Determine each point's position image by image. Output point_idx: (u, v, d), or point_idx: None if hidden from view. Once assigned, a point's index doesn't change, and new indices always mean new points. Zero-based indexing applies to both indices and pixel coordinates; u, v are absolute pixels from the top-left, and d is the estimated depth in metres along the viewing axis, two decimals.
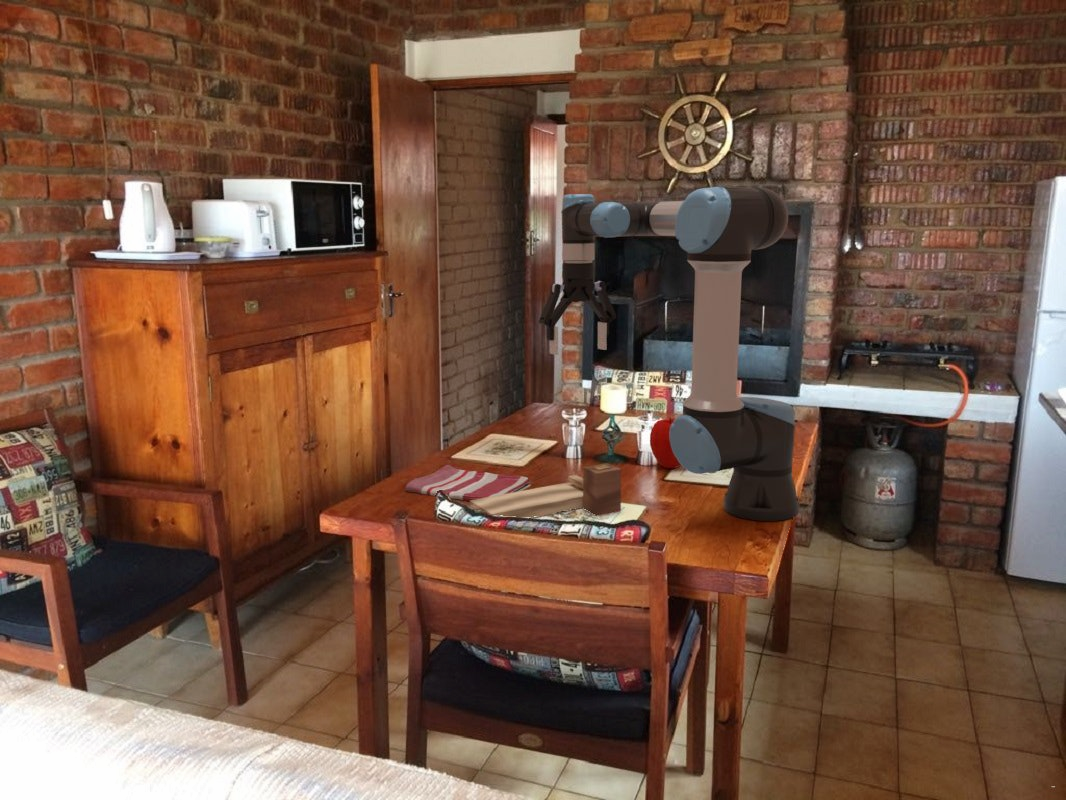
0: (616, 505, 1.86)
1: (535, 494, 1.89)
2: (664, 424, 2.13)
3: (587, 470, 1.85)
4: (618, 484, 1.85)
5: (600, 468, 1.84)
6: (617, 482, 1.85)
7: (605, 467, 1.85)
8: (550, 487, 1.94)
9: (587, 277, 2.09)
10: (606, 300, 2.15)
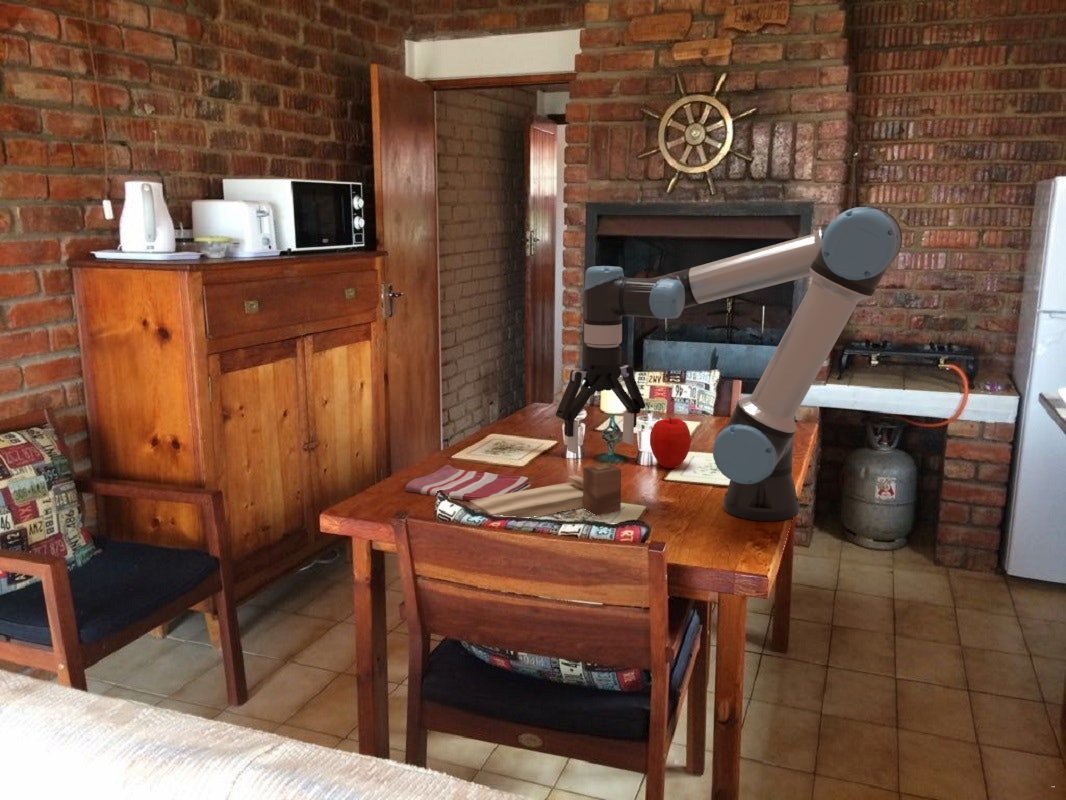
0: (616, 505, 1.86)
1: (535, 494, 1.89)
2: (664, 424, 2.13)
3: (587, 470, 1.85)
4: (618, 484, 1.85)
5: (600, 468, 1.84)
6: (617, 482, 1.85)
7: (605, 467, 1.85)
8: (550, 487, 1.94)
9: (613, 364, 1.78)
10: (634, 388, 1.84)
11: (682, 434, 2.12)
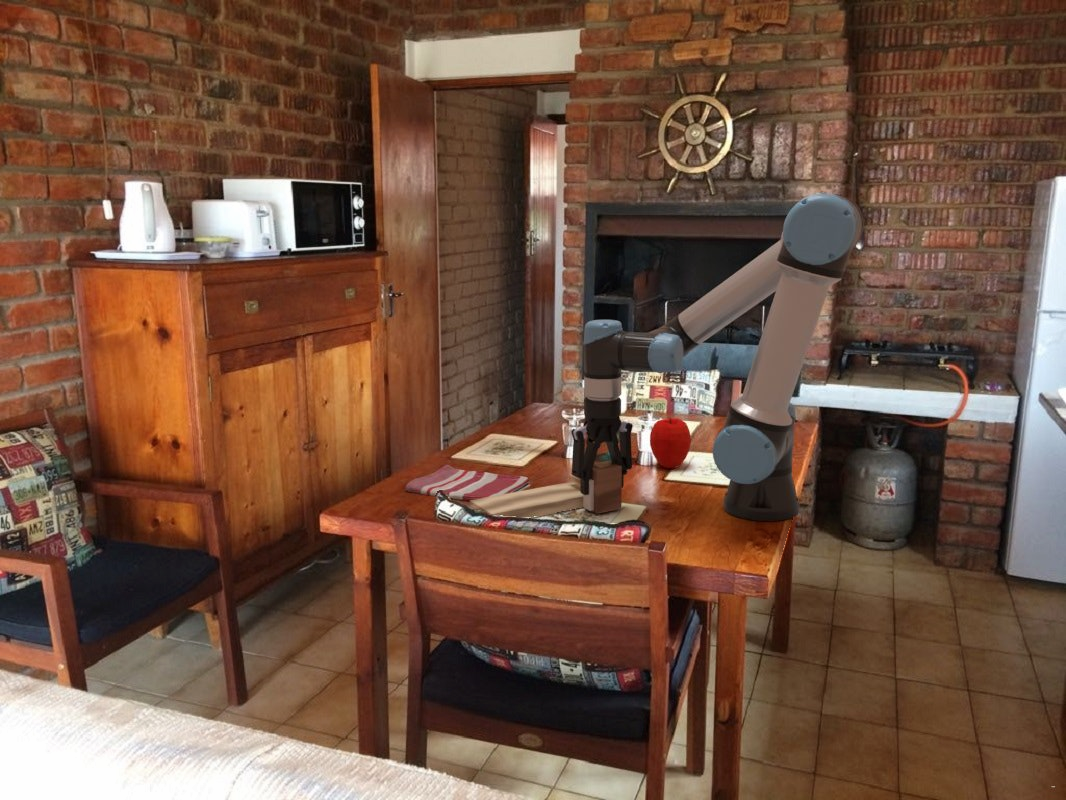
0: (617, 503, 1.85)
1: (535, 494, 1.89)
2: (664, 424, 2.13)
3: None
4: (619, 481, 1.85)
5: (601, 466, 1.84)
6: (618, 480, 1.84)
7: (606, 465, 1.85)
8: (550, 487, 1.94)
9: (613, 416, 1.80)
10: (627, 445, 1.86)
11: (682, 434, 2.12)
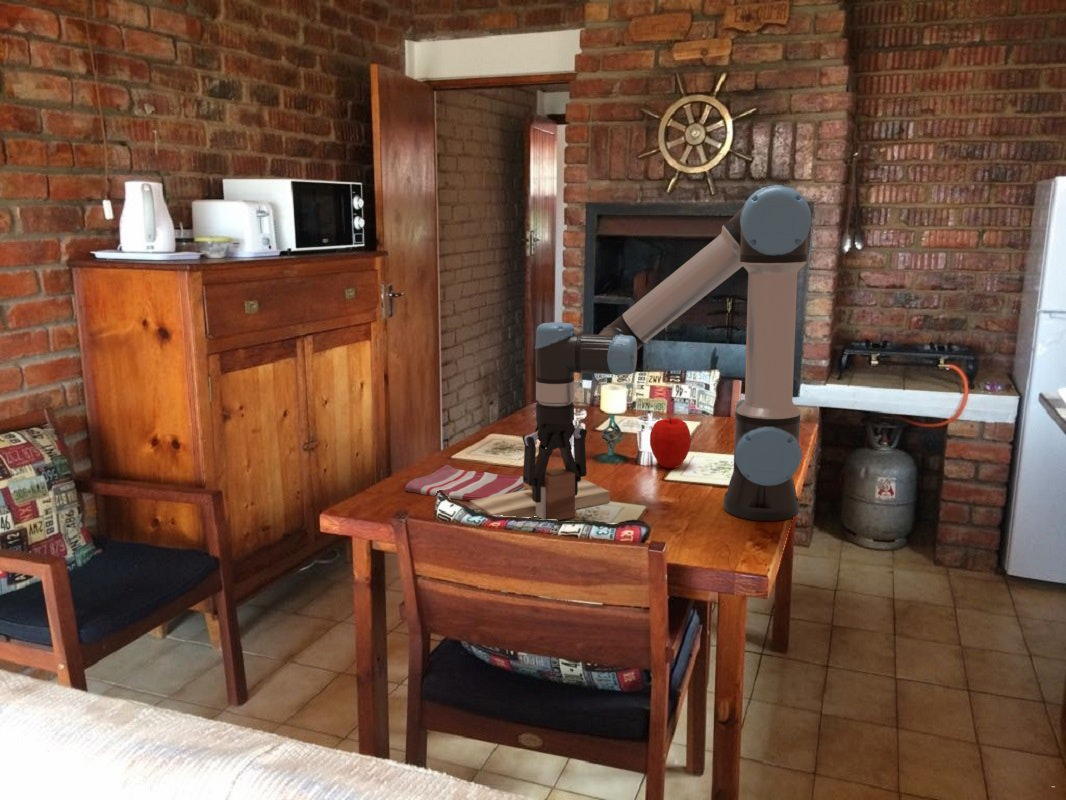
0: (570, 511, 1.80)
1: None
2: (664, 424, 2.13)
3: None
4: (572, 489, 1.79)
5: (553, 473, 1.79)
6: (571, 487, 1.79)
7: (558, 472, 1.79)
8: None
9: (565, 422, 1.74)
10: (581, 452, 1.81)
11: (682, 434, 2.12)
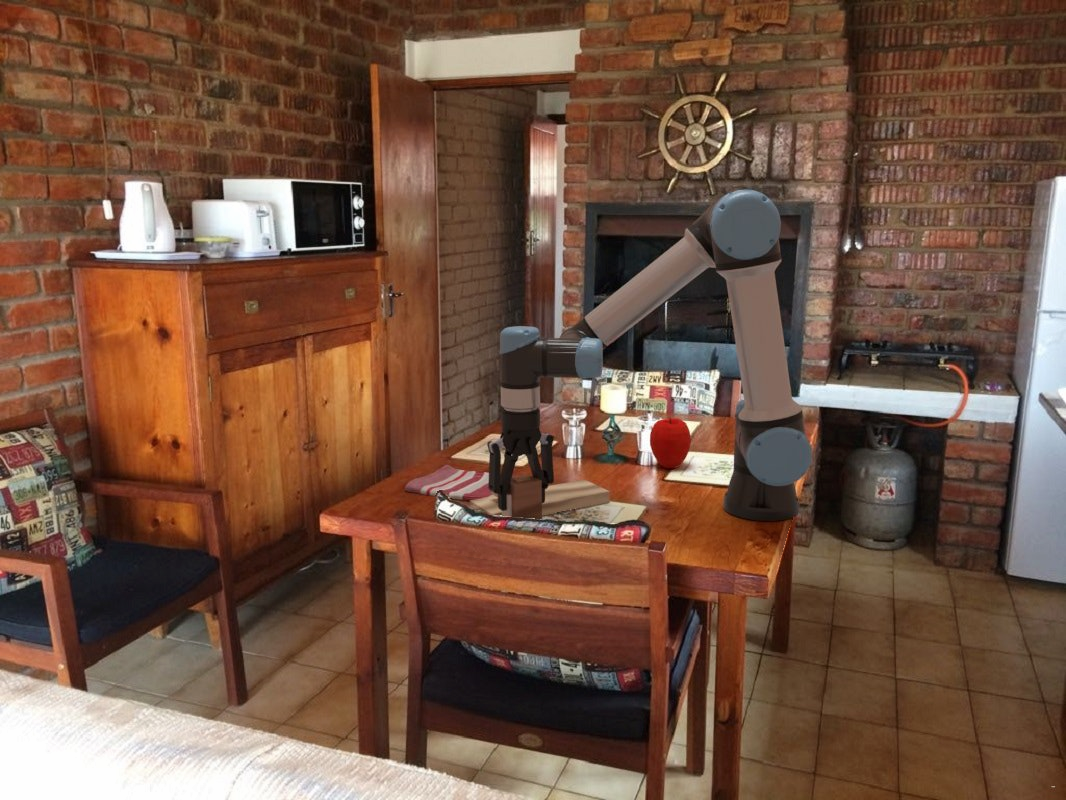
0: None
1: None
2: (664, 424, 2.13)
3: None
4: (539, 496, 1.75)
5: (519, 480, 1.75)
6: (537, 494, 1.75)
7: (525, 479, 1.76)
8: (550, 487, 1.94)
9: (530, 428, 1.71)
10: (548, 458, 1.77)
11: (682, 434, 2.12)
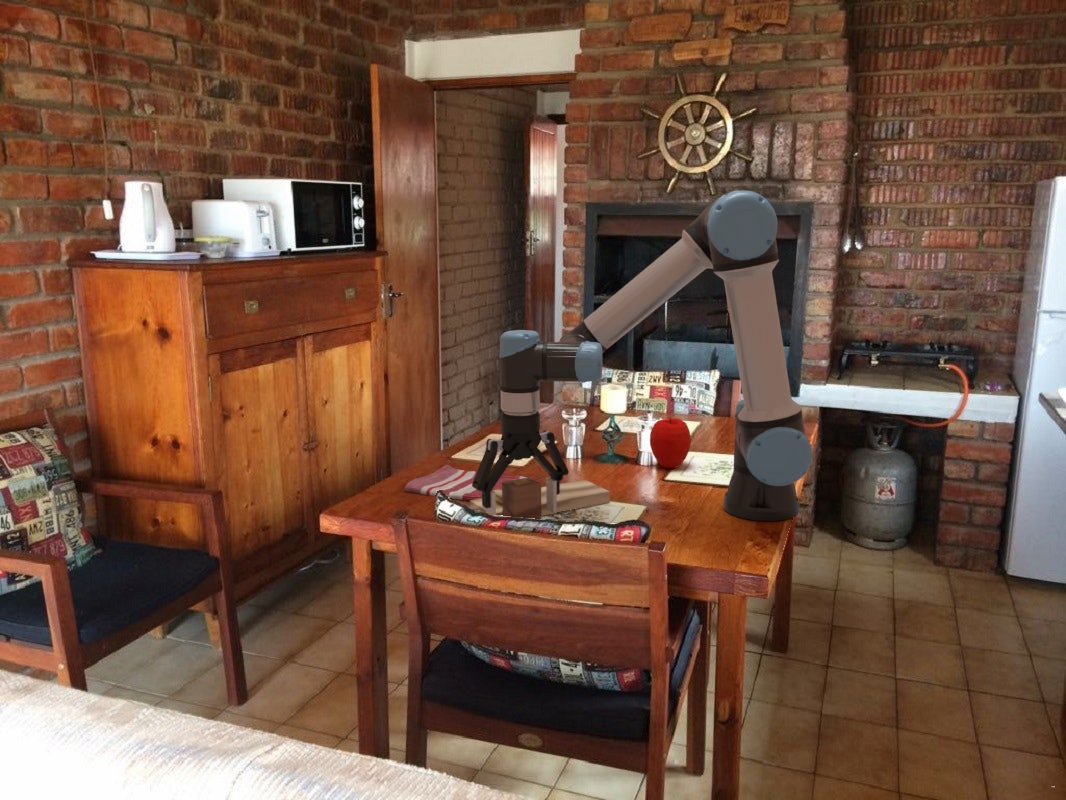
0: None
1: None
2: (664, 424, 2.13)
3: (505, 485, 1.75)
4: (538, 499, 1.76)
5: (519, 483, 1.75)
6: (537, 498, 1.75)
7: (524, 482, 1.76)
8: None
9: (530, 432, 1.71)
10: (555, 454, 1.77)
11: (682, 434, 2.12)
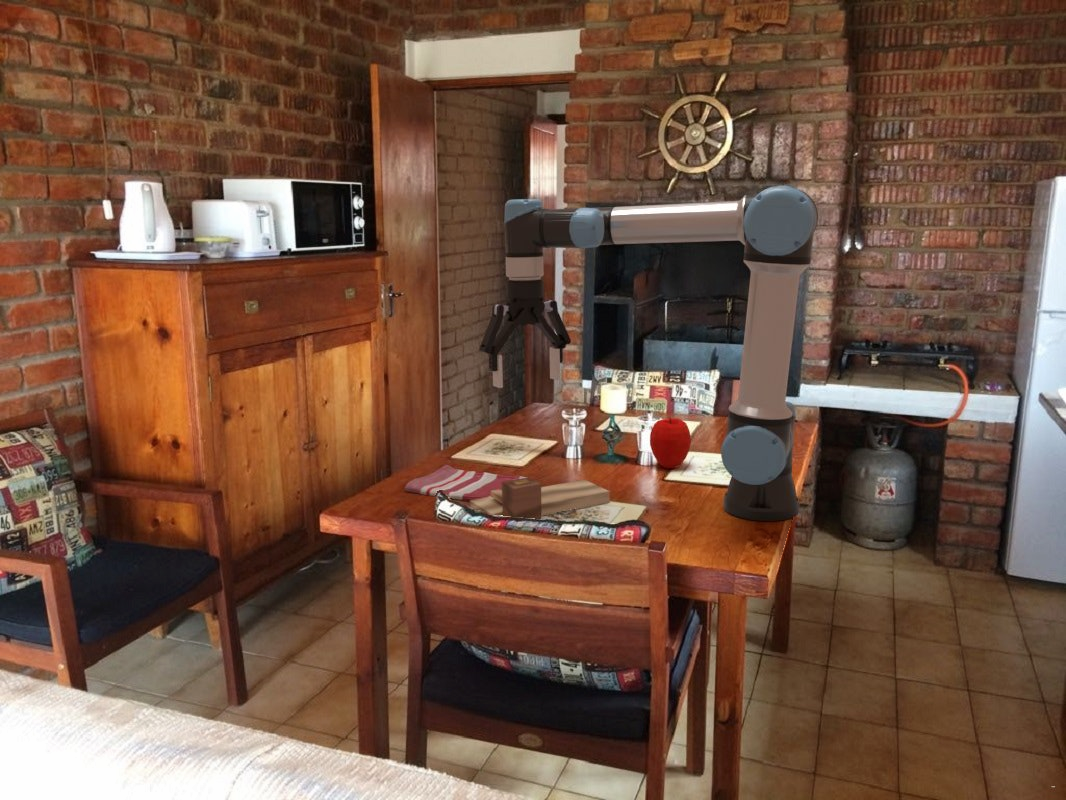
0: None
1: None
2: (664, 424, 2.13)
3: (505, 485, 1.75)
4: (538, 499, 1.76)
5: (519, 483, 1.75)
6: (537, 498, 1.75)
7: (524, 482, 1.76)
8: (550, 487, 1.94)
9: (535, 296, 1.77)
10: (558, 322, 1.84)
11: (682, 434, 2.12)
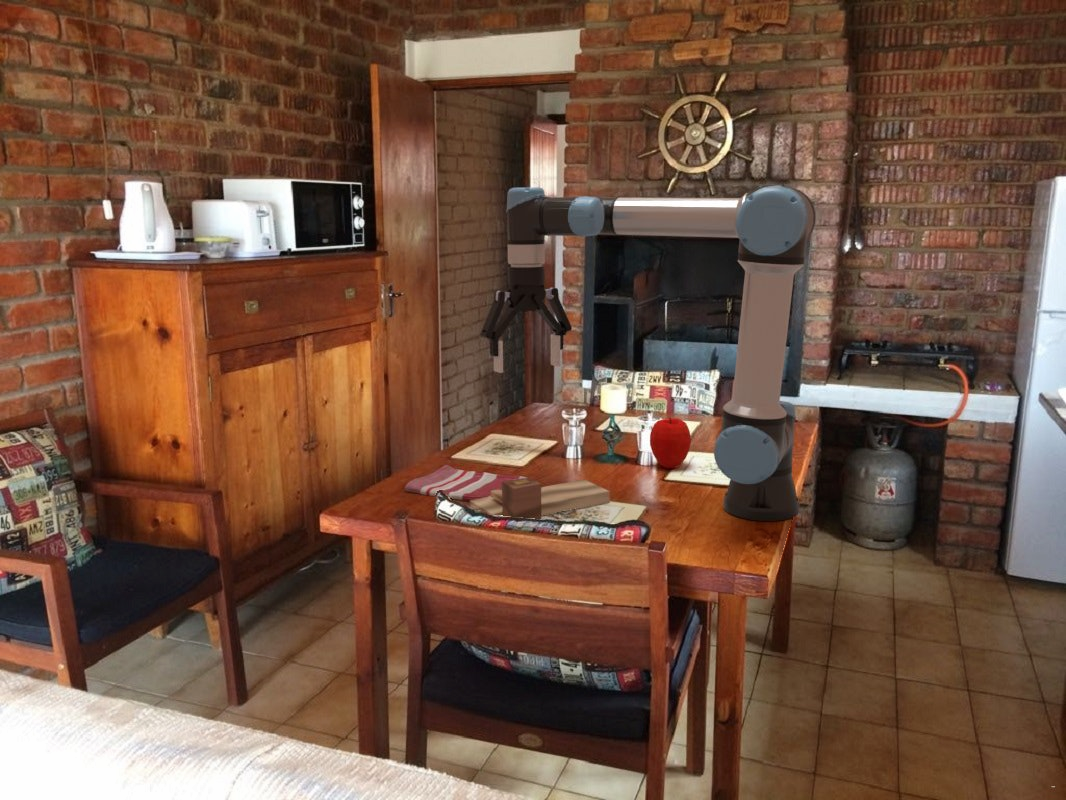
0: None
1: None
2: (664, 424, 2.13)
3: (505, 485, 1.75)
4: (538, 499, 1.76)
5: (519, 483, 1.75)
6: (537, 497, 1.75)
7: (524, 482, 1.76)
8: (550, 487, 1.94)
9: (536, 283, 1.81)
10: (559, 309, 1.87)
11: (682, 434, 2.12)
